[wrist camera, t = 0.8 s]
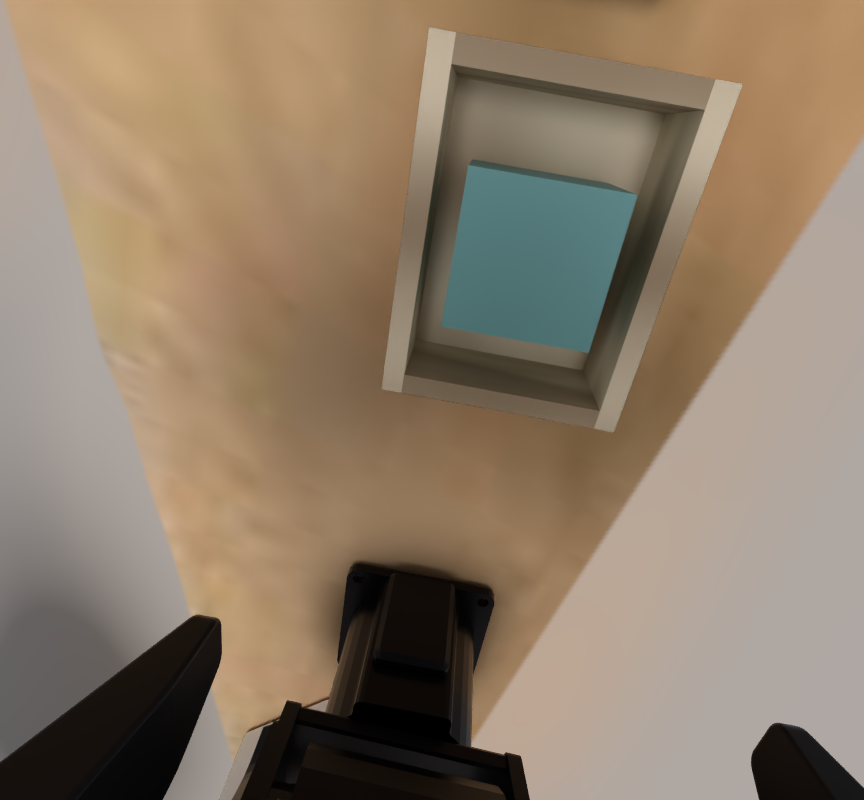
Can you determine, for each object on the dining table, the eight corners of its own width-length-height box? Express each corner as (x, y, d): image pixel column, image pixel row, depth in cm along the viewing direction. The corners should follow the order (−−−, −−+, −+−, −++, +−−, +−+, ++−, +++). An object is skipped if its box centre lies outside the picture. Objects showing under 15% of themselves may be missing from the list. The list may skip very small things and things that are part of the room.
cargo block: (570, 313, 17) (588, 353, 14) (449, 292, 17) (440, 326, 14) (607, 183, 16) (637, 194, 12) (472, 158, 16) (468, 165, 12)
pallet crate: (590, 377, 19) (613, 432, 16) (400, 342, 19) (381, 389, 16) (683, 95, 15) (742, 84, 12) (442, 51, 15) (429, 27, 12)
